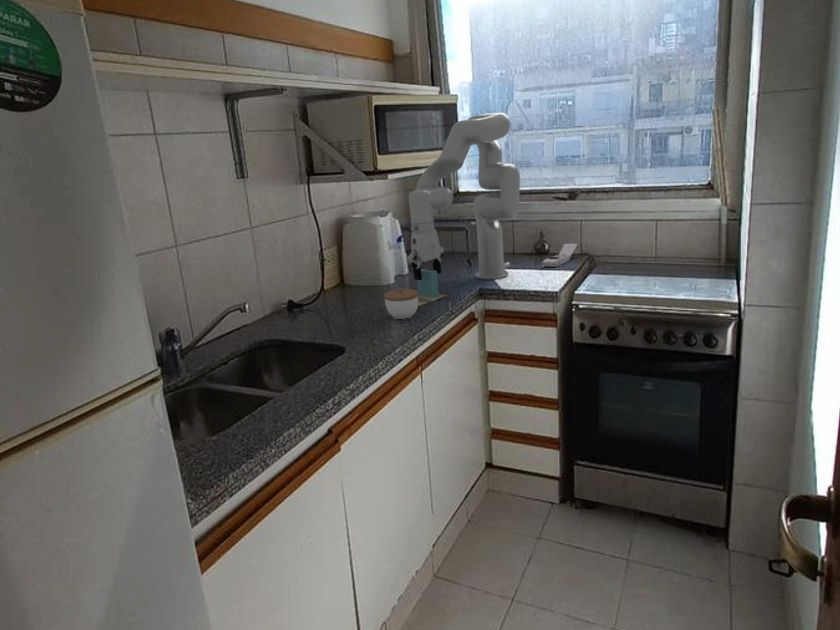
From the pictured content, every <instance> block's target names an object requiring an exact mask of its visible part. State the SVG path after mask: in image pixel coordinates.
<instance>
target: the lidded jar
mask: <svg viewBox="0 0 840 630" xmlns="http://www.w3.org/2000/svg"><path fill="white" fill-rule="evenodd" d="M383 298H384V304H385V307H386V311H387V313H388V314H389V315H390V316H392V318H393V319H394V320H397V319H404V320H406V319H405V318H409V319H411V318H413V317H414V315H415V314H416V313H417V310H418V308H419V307H418V290H416V289H411V288H403V287H398V289H393V290H389V291H387V292H386V293H384V295H383ZM412 316H413V317H412ZM410 317H411V318H410Z"/></svg>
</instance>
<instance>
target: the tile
mask: <svg viewBox="0 0 840 630" xmlns="http://www.w3.org/2000/svg"><path fill="white" fill-rule="evenodd" d="M420 269H421V273H422V280H416V283H417V291H418V296H422V297H428V298H435V297H438V296H439V294H440V293H439V282H438V281H439V280H438V273H437V271H434V270H433V269H432V270H431V269H425V268H424V269H423V268H420Z"/></svg>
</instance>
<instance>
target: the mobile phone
mask: <svg viewBox="0 0 840 630" xmlns="http://www.w3.org/2000/svg"><path fill="white" fill-rule="evenodd" d="M577 246H578V243H564V244H563V245H562V248H561V250H560V252H559V254H556V255H554V256H549V257H547V258H545V259H543V260H542V265H541V266H540V268H542V269H543V268H545V267H552V268H553V267H560V266H561V265H563V264H566V263H568V262H569V261H570V260H571V256H572V255H573V253H574V251H575V249H576V248H577Z"/></svg>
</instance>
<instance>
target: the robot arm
mask: <svg viewBox="0 0 840 630" xmlns="http://www.w3.org/2000/svg"><path fill="white" fill-rule="evenodd" d="M510 120H511V119H510V117H509V116H508V115H507V114H506V113H504V112H493V113H492V112H491V113H490V112H489V113H480V114H476V115H472V116H470V117H469V118H468V119H463V120H460V121H457V122H455V123H454V124H453V125H452V127H451V129H450V132H449V135H448V137H447V139H446V141H445V144H444V146H443V148H442V150H441V152H440V155H439V157H438V158H437V159H435V160H434V161H433V162H432V163H431V164H430V166H428V167H427V169H425V170H424V171H423V173H422V174H421V175H420V178H419V179H418V182H417V184H416V187H415V190H413V191H410V192H409V194H408V201H409V211H410V212H409V213H410V220H411V222H410V223H411V227H410V230H411V231H412V233H411V239H410V241H411V242H410V246H411V247H410V249H411V252H410V254H409V255H408V256H406V261H407V263H408V265H409V266H410V267H411V269H413V272H412V273H413V279H414V280H415V281H417V280H422V273H421V269H422V268H420V267H421V265H422V263H427V262H431V261H432V270H434V271H437V274H442V266H441V262H442V259H443V256H444V250H445V247H443V246H441V245H440V239H439V235H438V232H437V229H436V228H435V222H434V221H435V219H434V210H444V209H446V208H449V207H450V206H451V205H452V204H453V201H454V194H453V192H452V190H451V189H450V188H448V187H446V186H442V185H441V186H440V185H439V186H437V185H438V183H439V182H440V181H442V180H444V178H446V177H448V176H449V175H452V174H454V173H456V172H457V171H459V170H460V169H461V168H462V167H463V165H464V163H465V161H466V158H467V155H468V153H469V150H470V148H471V146H477V149H478V173H477V174H478V176H477V177H478V179H477V180H478V185H479V187H480V188H481V189H483V190H490V191H500V193H482V194H479V195H478V196H476V197H475V198H474V200H473V203H472V209H473V215H474V218H475V223H476V231H477V233H476V234H477V235H476V236H477V238H476V239H477V252H478V253H477V254H478V255H477V257H478V268H479V269H478V272H476V273H475V278H477V279H479V280H499V279H503V278H507V277H508V276H509V272H508V271H507V270H506V269H507V268H509V267H511V262H509V261H508V262H504V240H503V235H504V234H503V229H502V225H501V223H500V221H507V220H508V221H509V220H510V221H511V220H512V219H514V218H516V216H517V214H518V211H519V203H520V188H521V184H520V183H521V179H520V178H521V177H520V172H519V169H518V167H517V166H516V165H515V164H513V163H509V162H508V163H507V162H503V149H502V146H501V144H500V142H499V140H500V139H502V138H504V137H505V136H506V135H508V134H509V131H510V129H511V121H510Z"/></svg>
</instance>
